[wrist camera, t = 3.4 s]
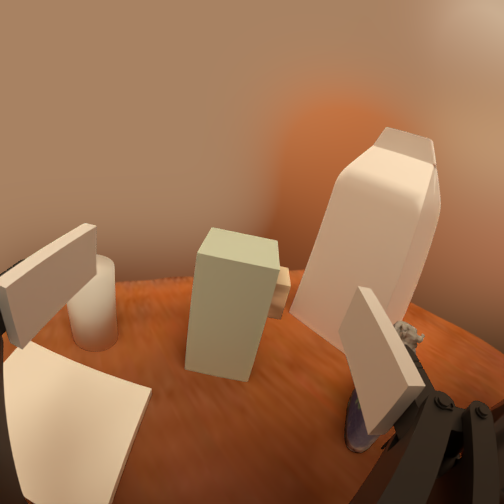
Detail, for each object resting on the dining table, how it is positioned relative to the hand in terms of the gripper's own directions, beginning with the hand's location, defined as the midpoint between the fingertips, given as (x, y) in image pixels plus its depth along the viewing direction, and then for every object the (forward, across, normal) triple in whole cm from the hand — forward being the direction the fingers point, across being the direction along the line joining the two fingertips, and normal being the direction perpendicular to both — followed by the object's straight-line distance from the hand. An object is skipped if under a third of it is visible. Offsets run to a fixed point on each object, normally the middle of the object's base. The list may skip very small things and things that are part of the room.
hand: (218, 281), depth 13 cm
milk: (+20, +17, -14) cm, 30 cm away
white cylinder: (+8, -12, -14) cm, 20 cm away
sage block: (+10, +1, -14) cm, 17 cm away
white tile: (-4, -11, -14) cm, 18 cm away
